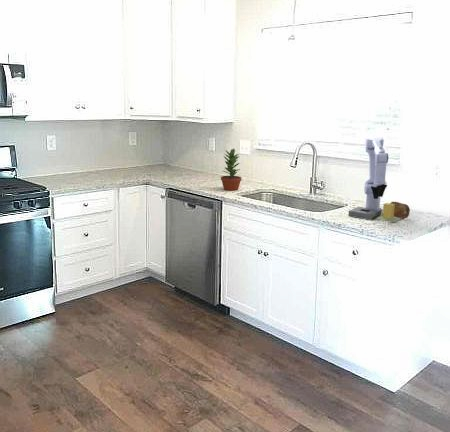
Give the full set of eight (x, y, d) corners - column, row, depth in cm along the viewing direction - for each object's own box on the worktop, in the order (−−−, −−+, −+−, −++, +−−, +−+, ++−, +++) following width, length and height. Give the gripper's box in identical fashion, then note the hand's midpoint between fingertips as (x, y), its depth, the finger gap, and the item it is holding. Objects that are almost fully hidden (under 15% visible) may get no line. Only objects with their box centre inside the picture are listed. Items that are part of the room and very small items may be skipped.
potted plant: (233, 186, 376) (234, 145, 369) (245, 190, 364) (246, 147, 357) (215, 188, 368) (216, 146, 361) (227, 192, 356) (228, 148, 349)
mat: (382, 215, 298) (382, 214, 298) (401, 218, 292) (401, 217, 291) (375, 219, 289) (375, 218, 289) (394, 222, 283) (394, 221, 283)
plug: (384, 216, 294) (386, 202, 292) (393, 218, 291) (394, 204, 289) (382, 217, 290) (383, 204, 289) (390, 219, 288) (392, 205, 286)
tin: (387, 214, 302) (388, 200, 300) (391, 213, 303) (392, 199, 301) (405, 220, 289) (407, 205, 287) (409, 219, 290) (411, 205, 288)
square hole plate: (358, 211, 307) (358, 206, 306) (381, 215, 299) (381, 210, 298) (348, 215, 296) (348, 210, 295) (371, 219, 288) (372, 214, 287)
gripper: (382, 176, 285) (380, 200, 288) (391, 173, 296) (389, 196, 299) (370, 175, 289) (368, 198, 292) (379, 172, 300) (377, 195, 303)
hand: (378, 197), depth 296 cm, fingers open, 7 cm apart
